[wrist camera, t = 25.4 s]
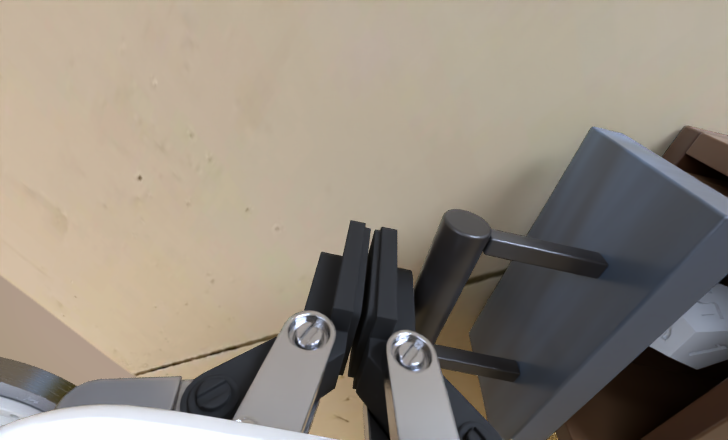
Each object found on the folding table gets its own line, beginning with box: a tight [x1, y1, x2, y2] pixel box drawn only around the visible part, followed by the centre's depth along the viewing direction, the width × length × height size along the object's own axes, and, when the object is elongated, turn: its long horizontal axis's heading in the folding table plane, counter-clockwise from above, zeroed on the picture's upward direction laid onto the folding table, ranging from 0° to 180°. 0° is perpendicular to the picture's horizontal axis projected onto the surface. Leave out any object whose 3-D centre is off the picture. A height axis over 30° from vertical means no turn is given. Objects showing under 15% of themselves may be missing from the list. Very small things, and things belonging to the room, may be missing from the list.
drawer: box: [413, 127, 728, 440], centre depth 13 cm, size 18×11×6 cm, turn 78°
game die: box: [650, 283, 728, 370], centre depth 13 cm, size 4×4×3 cm
